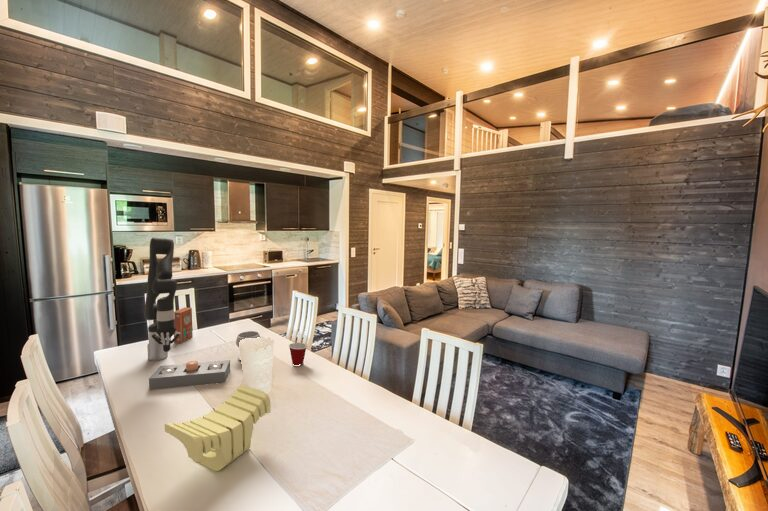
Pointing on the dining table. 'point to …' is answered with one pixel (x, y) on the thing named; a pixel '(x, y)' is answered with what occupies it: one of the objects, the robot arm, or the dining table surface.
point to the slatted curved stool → (223, 428)
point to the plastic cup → (297, 352)
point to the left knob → (168, 370)
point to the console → (189, 375)
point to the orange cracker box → (183, 324)
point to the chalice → (246, 335)
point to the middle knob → (192, 366)
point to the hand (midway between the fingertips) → (166, 351)
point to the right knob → (215, 366)
